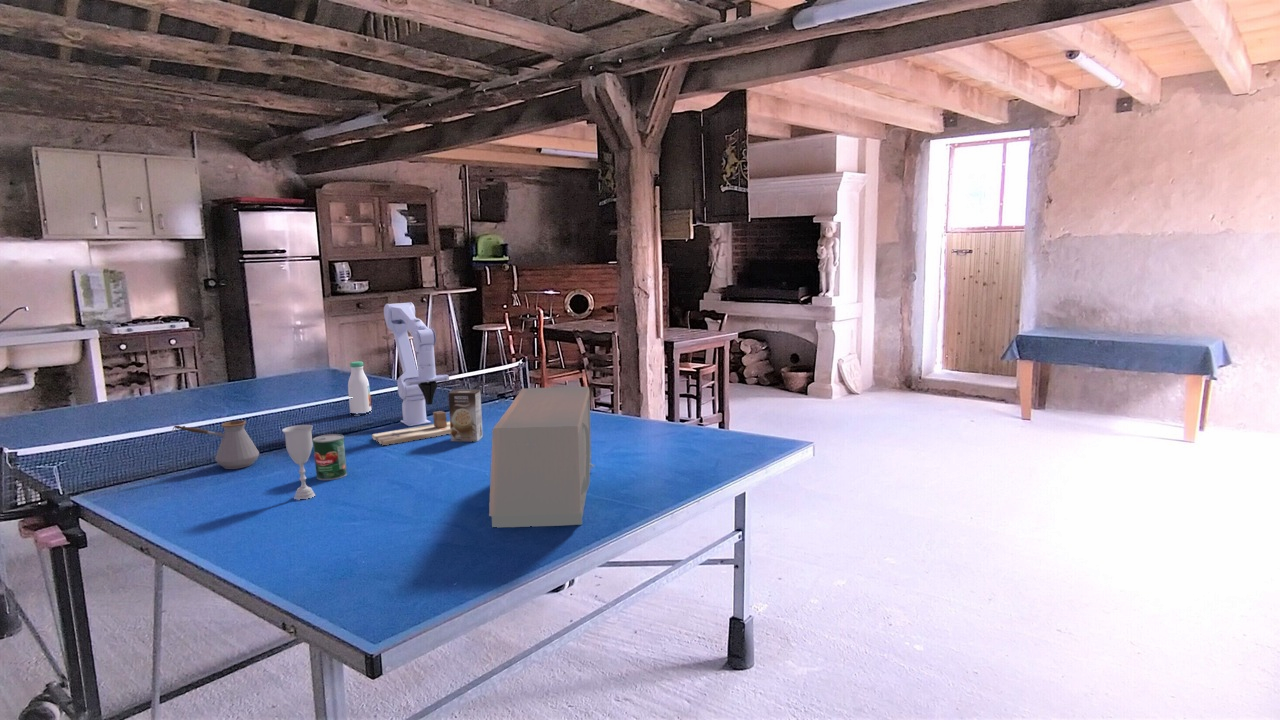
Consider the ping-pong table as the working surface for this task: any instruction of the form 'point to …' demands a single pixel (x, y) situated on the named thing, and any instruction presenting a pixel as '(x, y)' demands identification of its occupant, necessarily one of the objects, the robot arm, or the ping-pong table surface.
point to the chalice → (300, 454)
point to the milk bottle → (358, 389)
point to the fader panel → (411, 434)
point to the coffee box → (465, 415)
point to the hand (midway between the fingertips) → (429, 404)
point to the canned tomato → (330, 457)
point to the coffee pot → (232, 445)
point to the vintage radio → (541, 459)
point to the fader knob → (439, 419)
